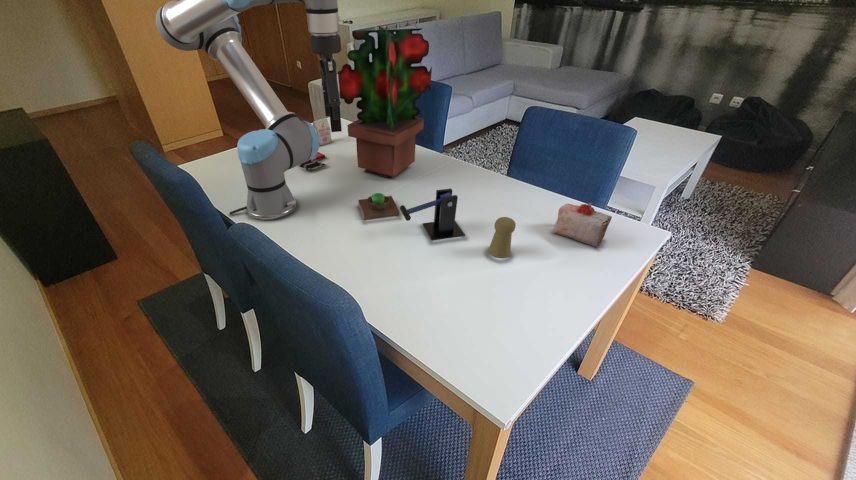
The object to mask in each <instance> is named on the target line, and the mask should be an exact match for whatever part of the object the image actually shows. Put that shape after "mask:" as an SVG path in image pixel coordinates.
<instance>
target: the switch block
mask: <svg viewBox="0 0 856 480" xmlns="http://www.w3.org/2000/svg"><path fill="white" fill-rule="evenodd" d="M384 198H385V201H384V202H383V203H379V204H376V203H373V202H372V195H370V196H369V197H367V198H361V199H358V201H357V203H358V207H359V210H360V212H361V216H362V218H363V221H368V220H369V221H370V220H376V219H384V218H385V219H386V218H391V217H399V216H400V209H399V207H398V206H397V204H396V201H395V200H394V198H393V196H392V195H385V194H384Z"/></svg>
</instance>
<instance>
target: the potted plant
mask: <svg viewBox="0 0 856 480" xmlns="http://www.w3.org/2000/svg"><path fill="white" fill-rule="evenodd" d="M422 30H423V28H422V27H421V28H417V27H416V28H396V29H394V28H393V29H385V28H384V27H382V26H380V25H378V29H371V30H370V29H369V30H352V31H351V36H352V38H353V39H354V40H355V41H356V40H357V41H364V42H362V43H360V45H359V47H358V49H351V50H349V51H348V52H347V54H346V57H347V59H348V60H349V61H352V62H353V68H352V66H351V64H349V63H344V64H343V65H342V68H341V69H340V70H339V71H337V81H338V90H339V98H340V100H341V99H342V100H343V101H344V103H345V104H346V105H352V104H353V103H354V100H355V99H360V100H357V101H356V104H355V105H356V108H357V109H358V110H361V111H359V112H357V114H356V118H357V120H355V121H353V122H351V123H349V124H347V136H348V137H349V138H353V139H355V141H356V142H355V143H356V155H357V156H356V157H357V158H356V160H357V168H359V169H363V170H364V171H365V172H366V173H369V174H373V175H377V176H380V177H385V178H387V179H393V178H395V177H396V176H398V174H399V175H400V173H402V172H403V171H405V170H406V169H407V168H408V167H409V166H410V165H412V164H414V163H415V162H416V141H417V134H419V133H420V132H423V131H424V127H425V124H424V123H425V118H422V117H418V116H419V115H420V113H421V109H420V108H419V107H417V106H416V101H417V100H419V99H420V98H421V96H422V94H424V93H426V91H427V90H428V91H429V92H431V88H432V73H433V67H432V66H431V67H430V69H428V67H427V66H425V65H418V64H421V63H422V61H423V60H424V58H425V57H427V56H428V55H429V53H430V42H429V41H428V40H427V39H425V38H424V36H423V34H422V33H420V32H417V33H413V32H415V31H422ZM371 33H376V34H377V35H376V36H377V48H376V39H375V37H374V36H373V35H370V34H371ZM370 55H371V59H370ZM412 65H413V66H412ZM414 65H417V66H414Z"/></svg>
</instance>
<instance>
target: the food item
mask: <svg viewBox="0 0 856 480" xmlns="http://www.w3.org/2000/svg"><path fill="white" fill-rule="evenodd" d="M557 212H558V213H557V218H556V220H555V225H554V228H553V234H556V235H559V236H563V237H567V238H569V239H572V240H575V241H576V242H577V241H578V242H580V243H583V244H586V245H589V246H592V247H594V248H599V247H600V246H601V244H602V242H603V239H604V237H605V235H606V232H607V229H608V227H609V225H610V224H611V221H612V218H613V216H612V215H609V214H606V213H603V212H599V211H596V210H595V208H594V207H592V203H591V202H589V203H583V204H580V205H575V204H571V203H565V204H563V205H562V206H560V207H559V209H558V211H557Z"/></svg>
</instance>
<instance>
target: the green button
mask: <svg viewBox="0 0 856 480" xmlns="http://www.w3.org/2000/svg"><path fill="white" fill-rule="evenodd" d="M384 195H385V194H384V193H381V192H375V193H373V194H371V196H372V202H373V203H376V204H379V203H383V202H384V201H385V198H384Z"/></svg>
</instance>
